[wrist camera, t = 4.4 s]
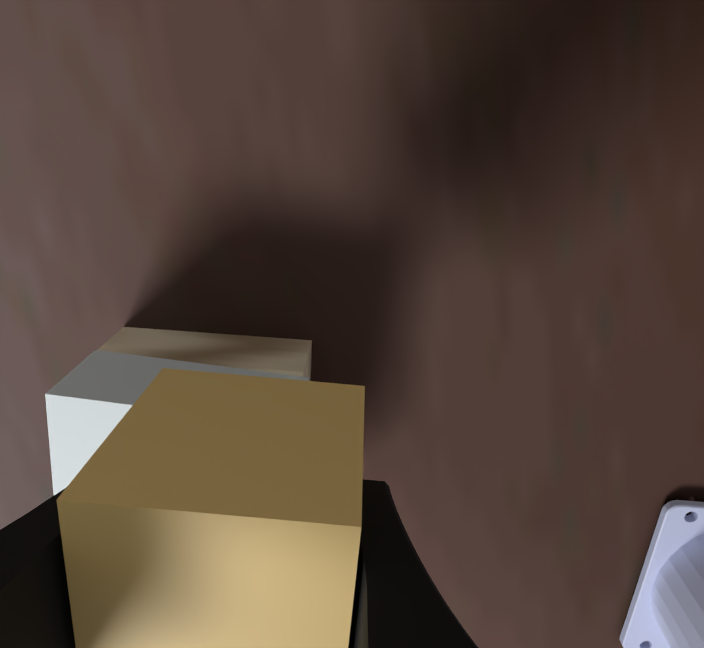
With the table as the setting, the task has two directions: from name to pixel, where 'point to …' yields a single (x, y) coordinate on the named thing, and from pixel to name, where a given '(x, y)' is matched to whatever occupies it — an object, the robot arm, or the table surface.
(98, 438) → the grey-blue slab
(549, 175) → the table surface
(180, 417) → the mustard cube
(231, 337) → the birch slab
